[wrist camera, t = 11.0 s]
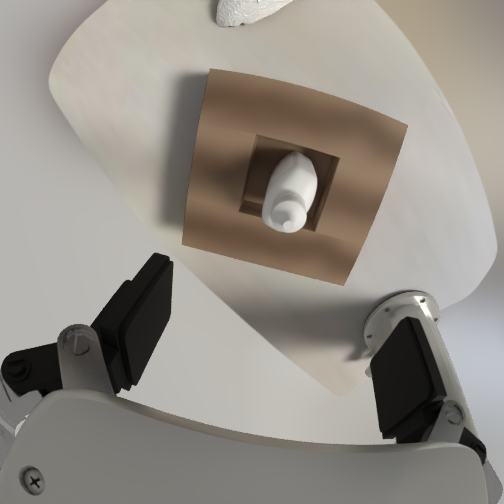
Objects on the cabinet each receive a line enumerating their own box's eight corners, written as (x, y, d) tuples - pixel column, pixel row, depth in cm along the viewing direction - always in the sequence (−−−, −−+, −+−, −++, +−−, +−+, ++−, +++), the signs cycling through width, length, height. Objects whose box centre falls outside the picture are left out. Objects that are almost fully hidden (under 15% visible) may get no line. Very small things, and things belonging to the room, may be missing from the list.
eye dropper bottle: (254, 172, 28) (232, 218, 18) (302, 145, 26) (311, 174, 15) (276, 206, 29) (268, 269, 19) (323, 181, 27) (343, 233, 17)
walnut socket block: (338, 263, 33) (343, 285, 29) (194, 226, 33) (181, 244, 29) (391, 121, 24) (408, 125, 20) (221, 73, 24) (210, 68, 20)
